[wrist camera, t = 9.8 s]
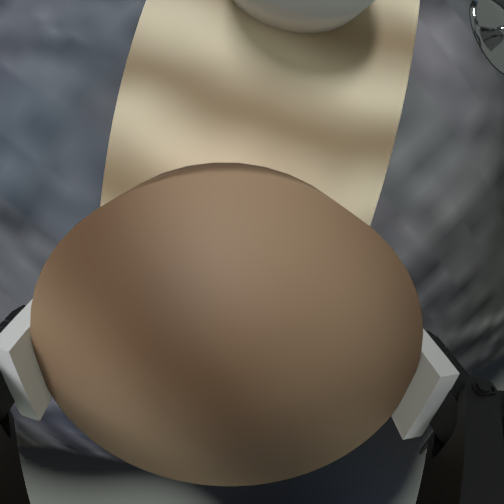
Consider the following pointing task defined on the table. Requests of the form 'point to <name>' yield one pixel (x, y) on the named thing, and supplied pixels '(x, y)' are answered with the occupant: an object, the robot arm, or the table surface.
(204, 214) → the lid
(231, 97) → the serving board
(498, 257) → the table surface
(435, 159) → the table surface
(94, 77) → the table surface
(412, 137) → the table surface
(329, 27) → the light grey domed disc
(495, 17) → the wine glass
